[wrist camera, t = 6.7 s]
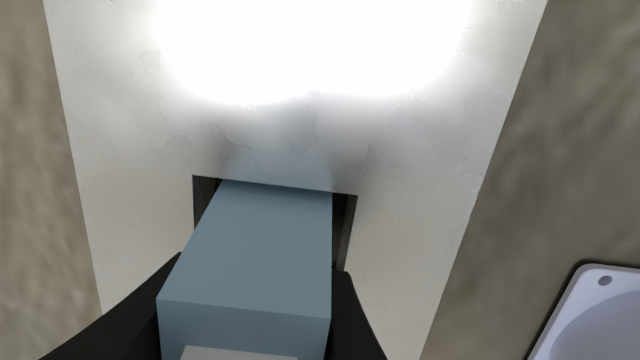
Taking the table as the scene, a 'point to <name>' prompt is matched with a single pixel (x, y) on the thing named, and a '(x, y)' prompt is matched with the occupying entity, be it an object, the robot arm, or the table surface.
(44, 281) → the table surface
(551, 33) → the table surface
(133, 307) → the robot arm
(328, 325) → the plug
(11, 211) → the table surface
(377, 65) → the grey socket board
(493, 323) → the table surface
